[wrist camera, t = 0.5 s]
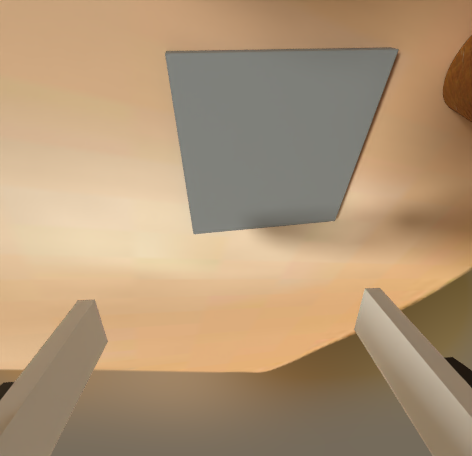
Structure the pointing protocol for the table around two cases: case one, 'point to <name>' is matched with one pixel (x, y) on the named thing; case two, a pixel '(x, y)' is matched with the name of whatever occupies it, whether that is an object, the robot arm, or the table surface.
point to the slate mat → (272, 131)
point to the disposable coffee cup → (460, 82)
